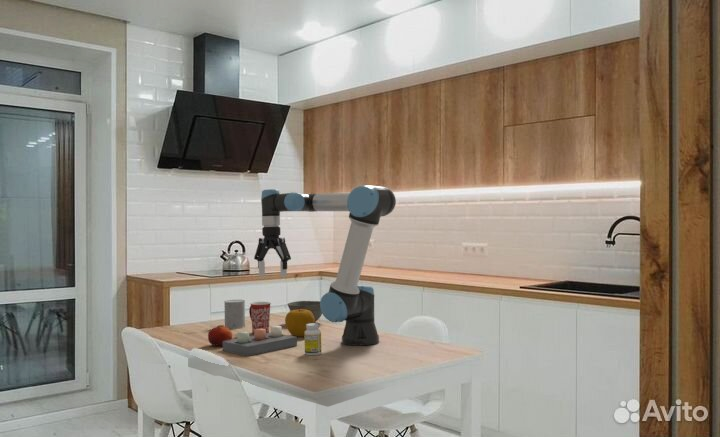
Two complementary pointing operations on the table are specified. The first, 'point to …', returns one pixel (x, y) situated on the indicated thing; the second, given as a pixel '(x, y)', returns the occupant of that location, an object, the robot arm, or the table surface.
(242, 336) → the button sage
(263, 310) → the mug
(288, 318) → the apple
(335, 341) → the table surface
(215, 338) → the tomato
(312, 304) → the bowl
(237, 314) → the grey stone cylinder
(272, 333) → the button cream
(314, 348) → the pill bottle
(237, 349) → the panel
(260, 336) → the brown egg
